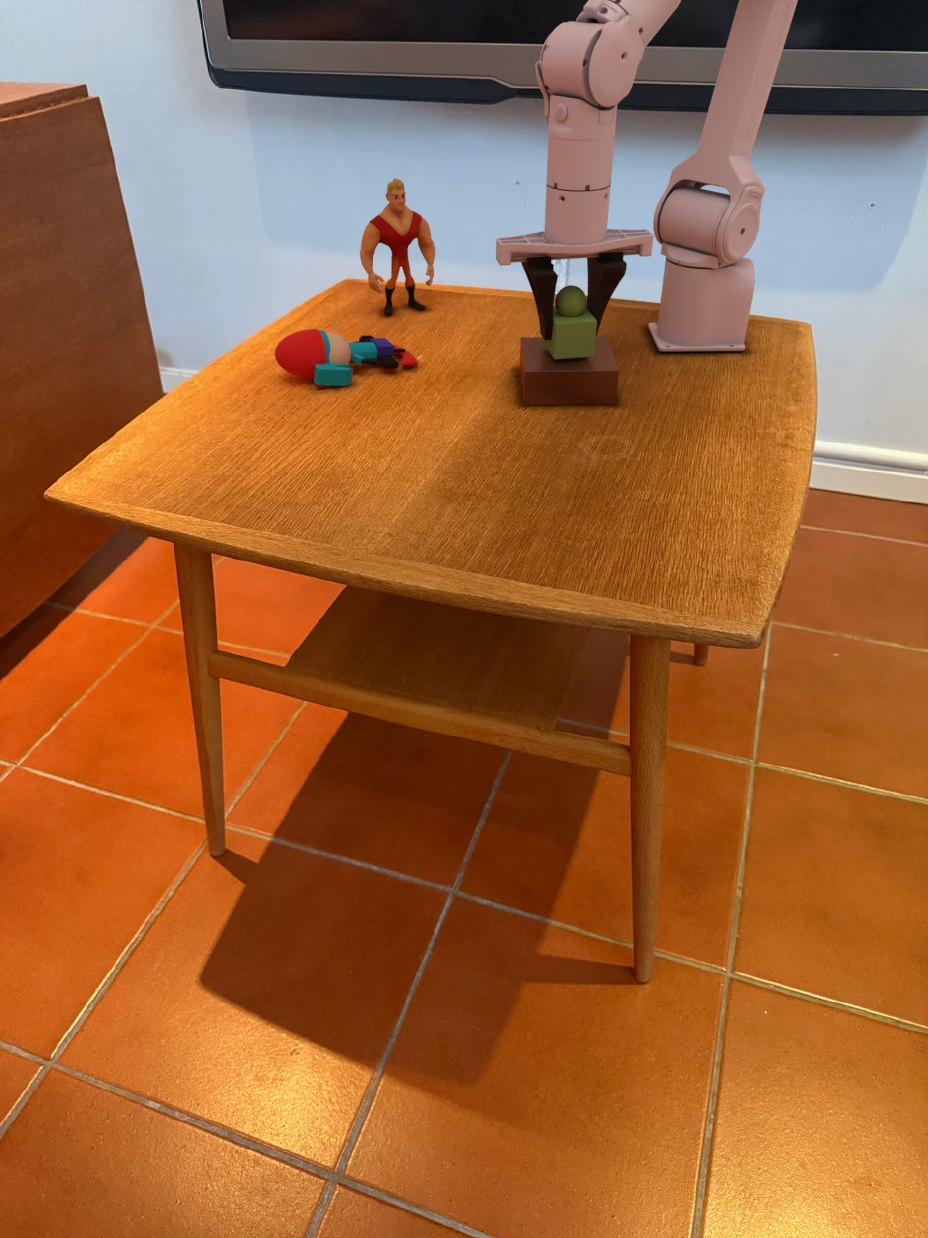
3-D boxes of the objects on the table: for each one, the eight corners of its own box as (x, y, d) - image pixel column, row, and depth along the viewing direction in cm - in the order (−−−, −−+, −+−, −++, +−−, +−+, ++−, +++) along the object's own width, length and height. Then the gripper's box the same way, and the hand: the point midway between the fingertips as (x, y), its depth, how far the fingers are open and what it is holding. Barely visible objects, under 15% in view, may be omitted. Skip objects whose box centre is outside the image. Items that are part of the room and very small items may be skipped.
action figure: (371, 320, 106) (361, 184, 97) (362, 311, 109) (350, 178, 99) (443, 308, 109) (440, 175, 100) (432, 300, 112) (428, 169, 102)
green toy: (580, 337, 90) (584, 276, 86) (594, 356, 86) (599, 292, 82) (542, 340, 89) (544, 279, 86) (554, 359, 85) (557, 295, 82)
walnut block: (604, 368, 94) (607, 336, 91) (615, 404, 87) (619, 370, 84) (519, 369, 94) (520, 337, 92) (524, 405, 87) (525, 371, 84)
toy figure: (391, 359, 100) (263, 363, 93) (396, 316, 97) (265, 317, 90) (420, 388, 95) (287, 394, 88) (427, 344, 92) (290, 347, 85)
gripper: (641, 170, 82) (626, 315, 91) (490, 178, 81) (489, 325, 89) (668, 187, 77) (649, 340, 85) (505, 196, 75) (503, 351, 84)
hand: (568, 334), depth 87 cm, fingers closed on green toy, 4 cm apart
